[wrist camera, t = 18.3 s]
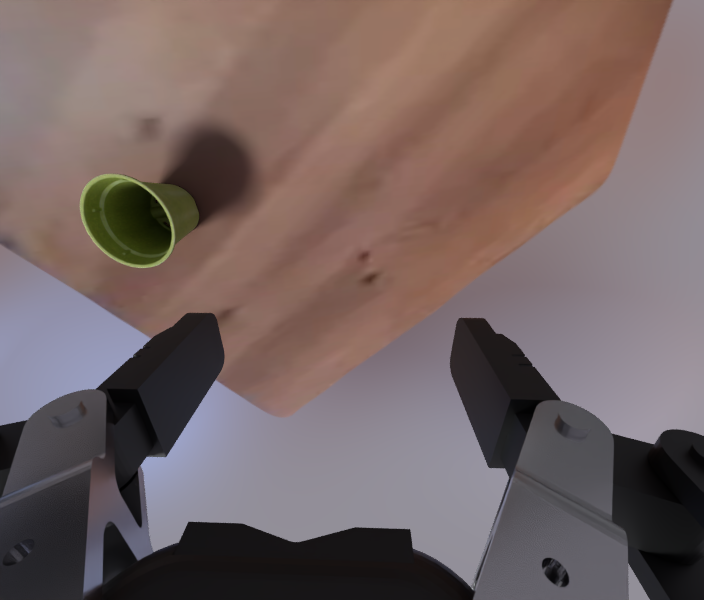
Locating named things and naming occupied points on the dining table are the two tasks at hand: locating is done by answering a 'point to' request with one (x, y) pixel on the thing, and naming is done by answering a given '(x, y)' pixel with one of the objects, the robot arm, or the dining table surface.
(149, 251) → the plant pot
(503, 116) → the dining table surface
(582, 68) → the dining table surface
